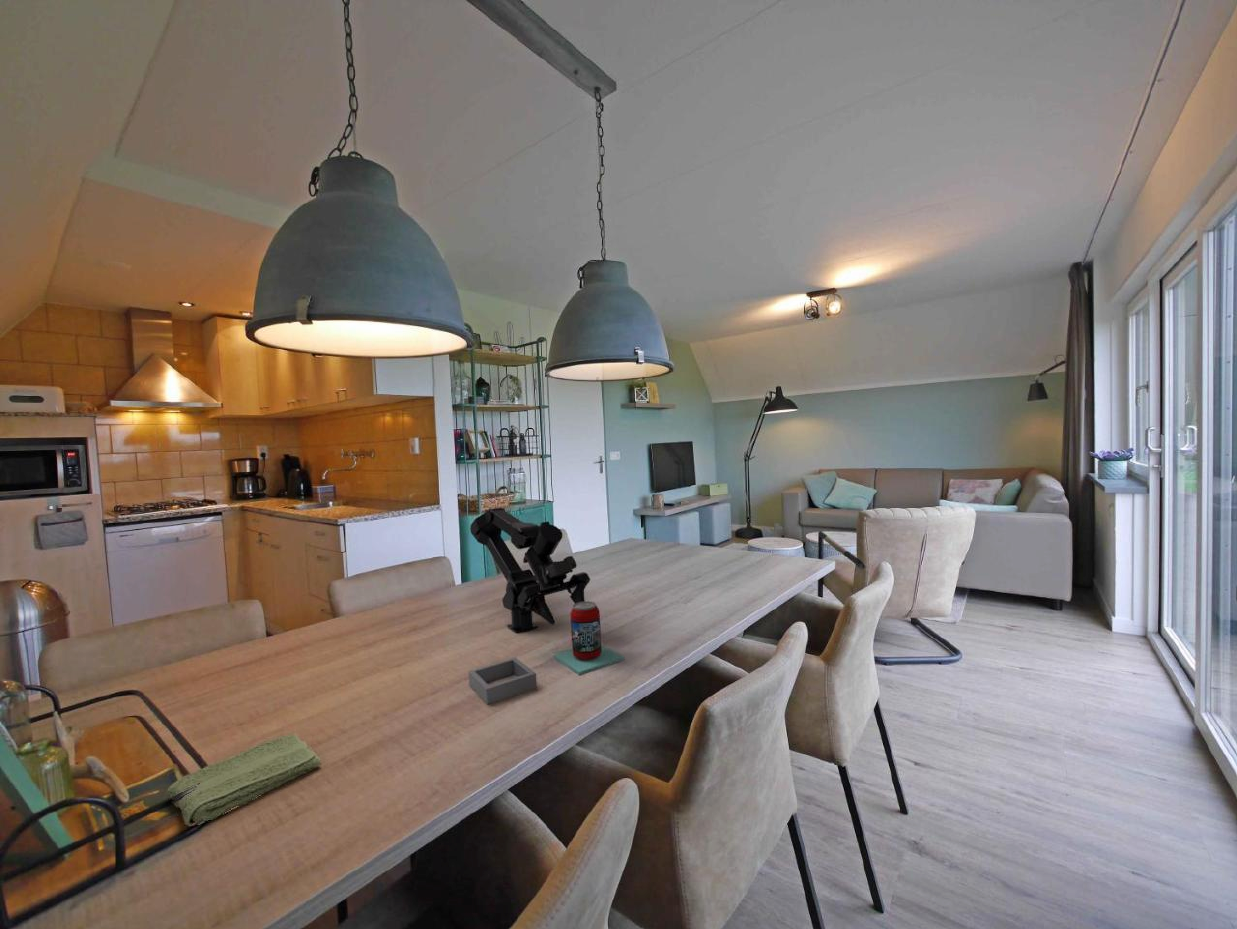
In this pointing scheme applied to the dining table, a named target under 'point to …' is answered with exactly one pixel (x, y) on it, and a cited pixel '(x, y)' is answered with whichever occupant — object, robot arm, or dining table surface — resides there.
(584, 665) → the teal mat
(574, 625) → the beverage can
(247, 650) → the dining table surface
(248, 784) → the washcloth
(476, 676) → the can holder
